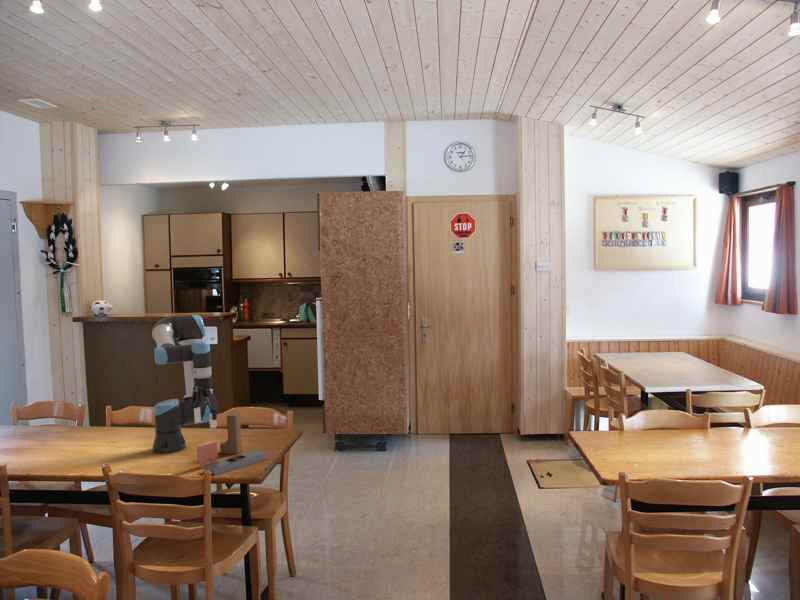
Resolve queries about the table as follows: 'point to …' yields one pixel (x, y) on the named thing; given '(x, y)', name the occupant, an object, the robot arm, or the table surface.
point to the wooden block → (232, 436)
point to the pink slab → (206, 453)
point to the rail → (235, 462)
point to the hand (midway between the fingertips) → (205, 424)
